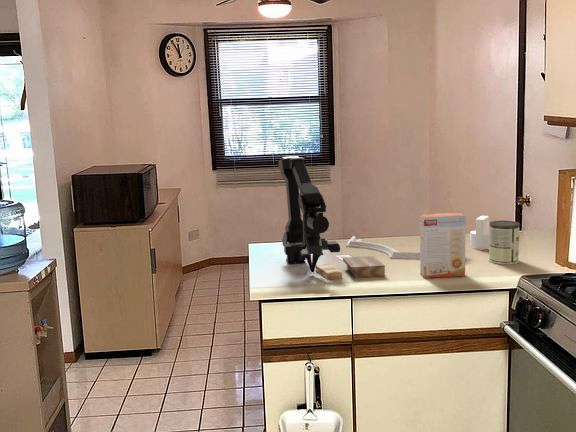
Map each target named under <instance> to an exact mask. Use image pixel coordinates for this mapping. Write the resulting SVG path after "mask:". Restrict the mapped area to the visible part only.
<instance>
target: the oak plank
mask: <svg viewBox="0 0 576 432" xmlns="http://www.w3.org/2000/svg"><path fill="white" fill-rule="evenodd" d="M315 272H317V273H319V274H320V275H321V276H323V277H324V278H326V279H327V280H335V279H342V278H343V271H341V270H340V269H338V268H336V267H335V266H333V265H331V264H330V263H325V264H316V267H315Z"/></svg>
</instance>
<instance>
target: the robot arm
mask: <svg viewBox="0 0 576 432" xmlns="http://www.w3.org/2000/svg"><path fill="white" fill-rule="evenodd" d="M278 169H279V170H280V175H281V177H282V178H283V180H284V181H285V188H286V189H285V190H286V199H287V200H286V201H287V203H286V204H287V212H288V214H287V215H288V221H287V222H286V224H285V226H284V227H285V228H284V232H283V236H282V239H281V240H282V246H283V252H284V254H285V255H286V258H285V260H286V263H287V264H288V265H292V264H305V263H306V262H307V264H308V268H309V271H310V273H314V272H315V271H316V265H318V264H317V263H318V261H319V259H320V257H321V256H324V251H329V252H330V253H340V252H341V247H340V246H341V245H340V244H339V243H338V242H337V241H336V240H331V241H329V240H328V237H321V234H323V233H324V234H325V233H326V232H327V230H329V227H330V221H329V220H328V218H327V217H326V216H324V213H326V212H327V205H326V202H325V200H324V196H323V195H322V193H321V191H320V190H319V187H317V186H315V185H314V184H313V182H312V180H311V178H310V174H309V171H308V169H307V167H306V161H305V157H302V156H301V157H299V156H298V155H297V156H282V157H281V159H280V160H278Z"/></svg>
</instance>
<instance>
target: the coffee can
mask: <svg viewBox="0 0 576 432" xmlns="http://www.w3.org/2000/svg"><path fill="white" fill-rule="evenodd" d="M520 226H521V223H520V222H518V221H512V220H493V221H489V231H490V246H489V249H488V250H489V253H488V254H489V256H488V261H489V262H490V263H493V264H498V265H515V264H518V263H519V261H520V260H519V251H520Z"/></svg>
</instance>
